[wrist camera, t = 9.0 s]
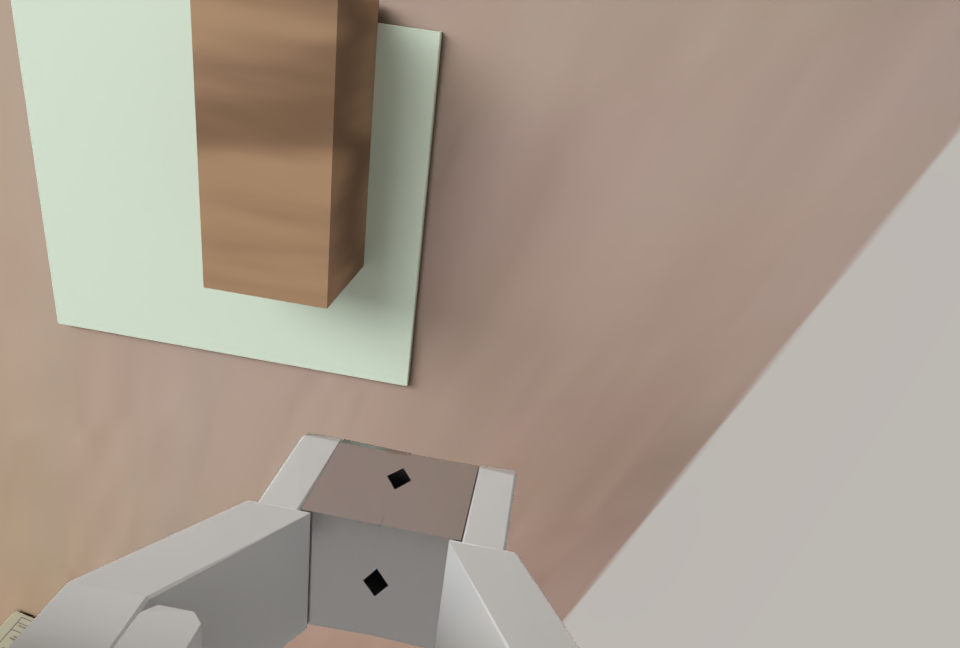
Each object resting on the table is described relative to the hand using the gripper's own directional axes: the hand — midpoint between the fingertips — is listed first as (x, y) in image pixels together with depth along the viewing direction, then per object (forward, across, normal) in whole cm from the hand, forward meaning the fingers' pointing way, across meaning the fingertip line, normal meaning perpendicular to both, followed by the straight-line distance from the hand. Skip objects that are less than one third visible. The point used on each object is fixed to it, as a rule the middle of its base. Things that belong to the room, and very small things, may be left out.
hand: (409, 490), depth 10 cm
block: (+18, +9, -6) cm, 21 cm away
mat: (+21, +13, +3) cm, 25 cm away
